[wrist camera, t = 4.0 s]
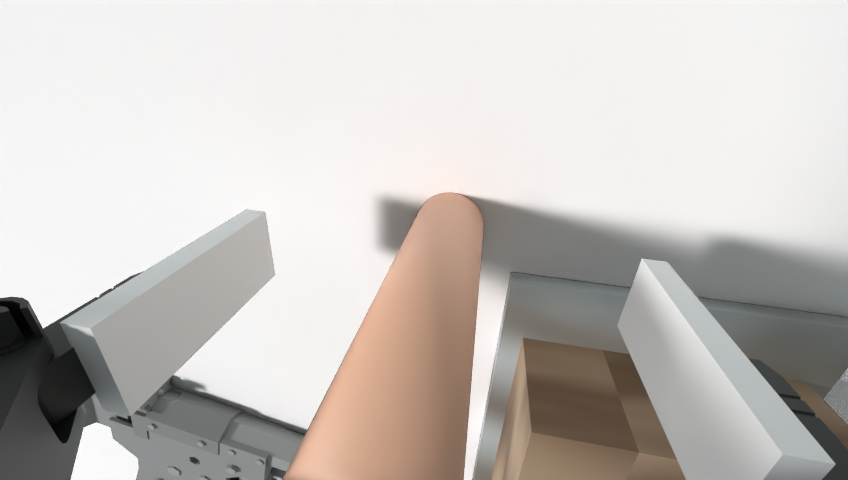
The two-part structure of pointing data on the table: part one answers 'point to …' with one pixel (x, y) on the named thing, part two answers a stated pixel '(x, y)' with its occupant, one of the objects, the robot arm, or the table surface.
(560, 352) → the socket
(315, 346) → the table surface
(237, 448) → the pistol
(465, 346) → the peg
